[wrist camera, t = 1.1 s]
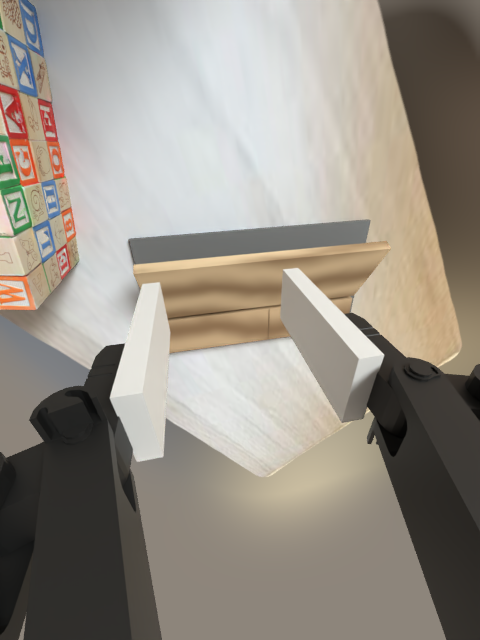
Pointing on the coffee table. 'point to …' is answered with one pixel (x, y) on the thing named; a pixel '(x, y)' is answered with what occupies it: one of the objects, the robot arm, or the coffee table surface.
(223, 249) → the underlay
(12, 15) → the stack of blocks
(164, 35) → the coffee table surface
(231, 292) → the board
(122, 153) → the coffee table surface
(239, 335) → the laid plank
